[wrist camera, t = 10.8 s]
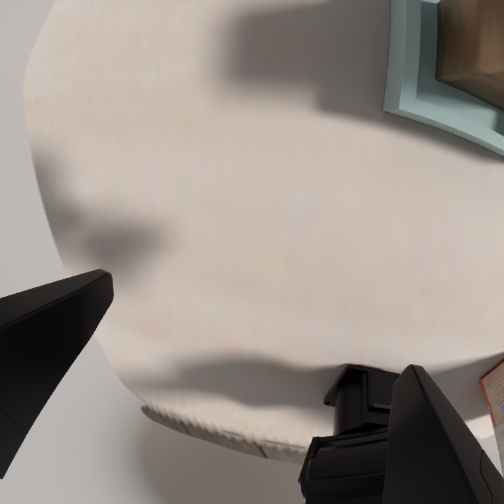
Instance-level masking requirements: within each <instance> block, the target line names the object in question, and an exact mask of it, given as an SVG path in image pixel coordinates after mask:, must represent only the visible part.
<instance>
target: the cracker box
mask: <svg viewBox="0 0 504 504" xmlns="http://www.w3.org/2000/svg"><path fill="white" fill-rule="evenodd" d="M479 382H480V385H481V388H482V391H483V394H484V397H485V400H486V404H487V407H488V410H489V414H490V417H491V421H492V424H493V428H494V432H495V437H496V441H497V446H498V450H499V455H500V461H501V466H502V472H503V478H504V361H503V362H502V363H500V364H499V365H498V366H497V367H496V368H495V369H493V370H492V371H491V372H490V373H488V374H487V375H486V376H484V377H483V378H482V379H480V381H479Z"/></svg>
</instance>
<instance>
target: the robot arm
mask: <svg viewBox="0 0 504 504" xmlns="http://www.w3.org/2000/svg"><path fill="white" fill-rule="evenodd" d="M113 298H114V291H113V279H112V275H111V273H109V272H107V271H105V270H102V269H97V270H93V271H90V272H86V273H83V274H79V275H76V276H73V277H69V278H66V279H63V280H59V281H55V282H52V283H49V284H45V285H42V286H39V287H35V288H32V289H29V290H25V291H22V292H19V293H16V294H13V295H9V296H6V297H3V298H0V479H3V477H4V476H5V474H6V472H7V470H8V468H9V466H10V464H11V462H12V460H13V459H14V457H15V455H16V453H17V451H18V450H19V448H20V446H21V444H22V442H23V441H24V439H25V437H26V435H27V434H28V432H29V430H30V428H31V427H32V425H33V424H34V422H35V420H36V418H37V417H38V415H39V414H40V412H41V411H42V409H43V407H44V406H45V404H46V403H47V401H48V399H49V398H50V396H51V395H52V393H53V392H54V390H55V389H56V387H57V385H58V384H59V383H60V381H61V380H62V378H63V377H64V375H65V374H66V372H67V371H68V369H69V368H70V367H71V365H72V364H73V362H74V361H75V359H76V358H77V357H78V355H79V354H80V352H81V351H82V350H83V348H84V347H85V345H86V344H87V343H88V341H89V340H90V338H91V336H92V335H93V333H94V332H95V330H96V328H97V326H98V325H99V323H100V321H101V320H102V318H103V316H104V315H105V313H106V311H107V310H108V308H109V306H110V305H111V303H112V301H113ZM323 403H324V405H327V406H332V407H335V417H334V432H333V436H326V437H319V436H318V437H313V439H312V442H311V444H310V446H309V449H308V452H307V455H306V458H305V461H304V464H303V467H302V471H301V473H300V477H299V479H298V483H299V484H300V485H301V491H302V495H303V496H304V498H305V499H306V504H504V478H503V477H502V475H501V474H500V473H499V471H498V470H497V469H496V468H495V466H494V464H493V463H492V462H491V460H490V459H489V457H488V456H487V454H486V453H485V451H484V450H483V449H482V447H481V445H480V444H479V442H478V441H477V439H476V438H475V437H474V435H473V434H472V432H471V431H470V429H469V428H468V427H467V425H466V424H465V422H464V421H463V420H462V418H461V417H460V416H459V414H458V413H457V411H456V410H455V409H454V407H453V406H452V405H451V403H450V402H449V401H448V399H447V398H446V397H445V395H444V394H443V393H442V391H441V390H440V389H439V387H438V386H437V385H436V384H435V382H434V381H433V380H432V378H431V377H430V376H429V375H428V373H427V372H426V371H425V369H424V368H423V367H422V366H419V365H414V364H410V365H409V366H407V367H406V369H405V370H404V371H403V372H402V374H401V375H398V374H393V373H388V372H383V371H378V370H373V369H368V368H364V367H359V366H355V365H349V366H347V367H346V368H345V370H344V371H343V373H342V374H341V376H340V377H339V379H338V380H337V382H336V383H335V384H334V386H333V387H332V389H331V390H330V391H329V393H328V394H327V396H326V397H325V398H324V402H323Z"/></svg>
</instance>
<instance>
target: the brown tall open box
mask: <svg viewBox="0 0 504 504" xmlns="http://www.w3.org/2000/svg"><path fill="white" fill-rule="evenodd" d="M435 80H437V81H440V82H442V83H445V84H447V85H450V86H452V87H454V88H457V89H459V90H461V91H464V92H466V93H468V94H470V95H472V96H474V97H476V98H478V99H480V100H482V101H484V102H486V103H488V104H490V105H492V106H494V107H496V108H498V109H499V110H501V111H503V112H504V0H440V1H439V2H438V3H437V57H436V72H435Z"/></svg>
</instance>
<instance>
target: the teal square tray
mask: <svg viewBox="0 0 504 504" xmlns="http://www.w3.org/2000/svg"><path fill="white" fill-rule="evenodd" d="M439 1H440V0H391V27H390V44H389V57H388V68H387V78H386V87H385V95H384V103H383V110H382V111H385V112H388V113H392V114H396V115H399V116H402V117H406V118H409V119H412V120H415V121H418V122H421V123H424V124H427V125H430V126H433V127H436V128H439V129H441V130H444V131H447V132H449V133H452V134H454V135H457V136H459V137H462V138H464V139H467V140H469V141H471V142H474V143H476V144H478V145H480V146H483V147H485V148H487V149H489V150H491V151H493V152H495V153H497V154H499V155H501V156H503V157H504V112H503V111H501V110H499V109H498V108H496V107H494V106H492V105H490V104H488V103H486V102H484V101H482V100H480V99H478V98H476V97H474V96H472V95H470V94H468V93H466V92H464V91H461V90H459V89H457V88H454V87H452V86H450V85H447V84H445V83H442V82H440V81H437V80H435V72H436V57H437V3H438V2H439Z"/></svg>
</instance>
